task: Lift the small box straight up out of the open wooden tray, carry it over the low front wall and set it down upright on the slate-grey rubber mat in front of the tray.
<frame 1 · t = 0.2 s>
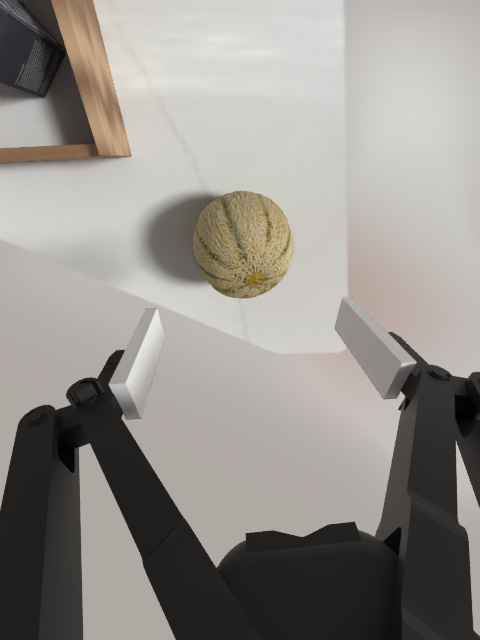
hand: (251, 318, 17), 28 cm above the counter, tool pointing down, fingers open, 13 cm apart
small box: (7, 30, 26), resting in open wooden tray
cantaloupe: (239, 235, 41), on the counter
open wooden tray: (6, 28, 26), on the counter
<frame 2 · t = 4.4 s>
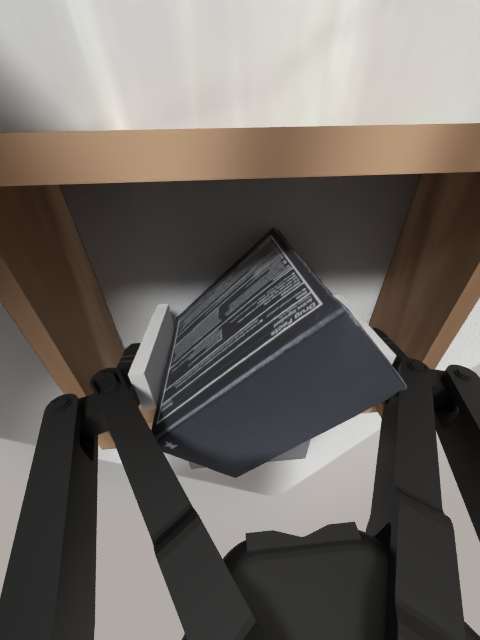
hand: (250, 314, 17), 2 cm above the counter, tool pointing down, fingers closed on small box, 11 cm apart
small box: (247, 301, 19), resting in open wooden tray, touching gripper
mat: (248, 433, 30), on the counter
open wooden tray: (247, 302, 19), on the counter
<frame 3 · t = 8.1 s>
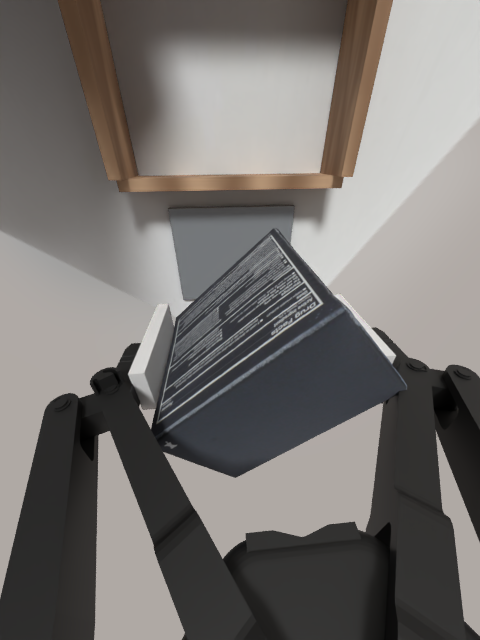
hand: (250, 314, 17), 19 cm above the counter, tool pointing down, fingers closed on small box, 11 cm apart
small box: (247, 301, 19), point 17 cm above the counter, touching gripper
mat: (233, 255, 34), on the counter
open wooden tray: (228, 66, 23), on the counter
when the fingers open (4 cm above the counter, at t = 12.1 s): small box drops 1 cm, resting on mat.
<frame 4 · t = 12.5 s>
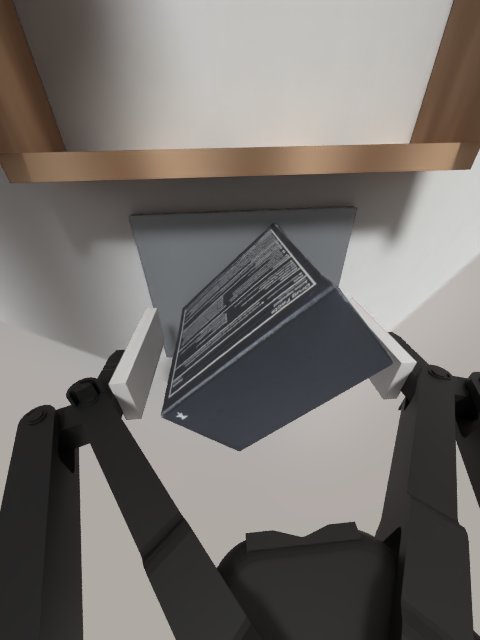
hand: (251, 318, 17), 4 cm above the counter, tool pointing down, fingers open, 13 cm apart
small box: (249, 292, 20), resting on mat
mat: (245, 291, 21), on the counter
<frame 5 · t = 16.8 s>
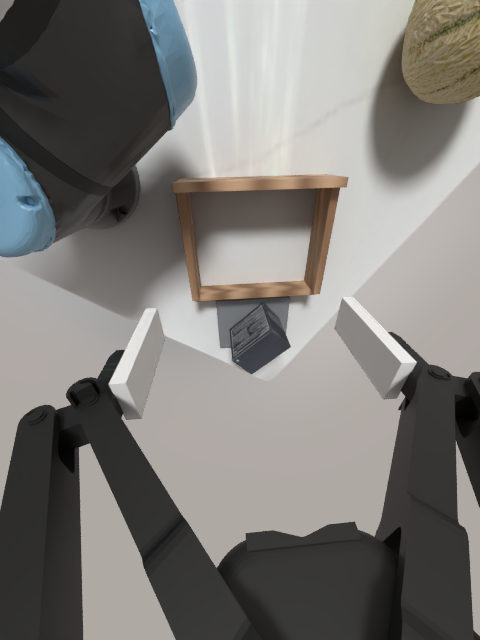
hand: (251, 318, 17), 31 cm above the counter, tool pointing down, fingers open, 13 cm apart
small box: (254, 323, 55), resting on mat
cantaloupe: (433, 42, 32), on the counter
mat: (252, 322, 55), on the counter
open wooden tray: (253, 239, 44), on the counter
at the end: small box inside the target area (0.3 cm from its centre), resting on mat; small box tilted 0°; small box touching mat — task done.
